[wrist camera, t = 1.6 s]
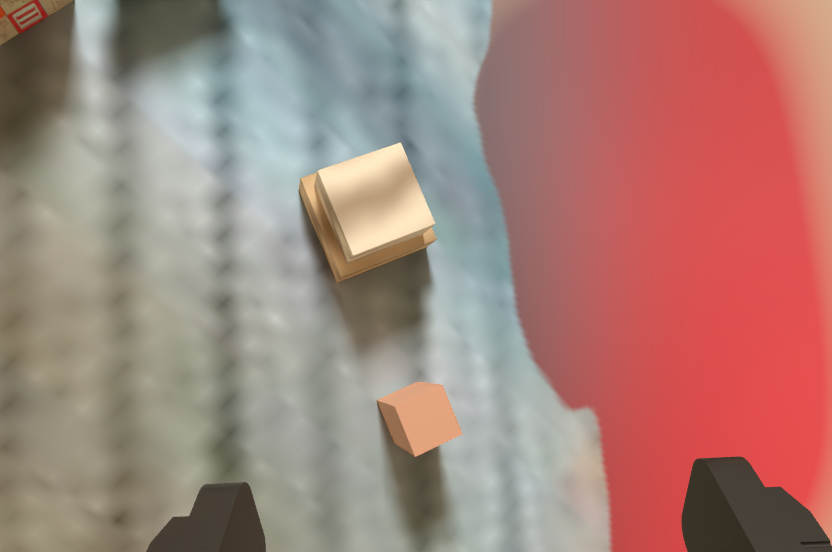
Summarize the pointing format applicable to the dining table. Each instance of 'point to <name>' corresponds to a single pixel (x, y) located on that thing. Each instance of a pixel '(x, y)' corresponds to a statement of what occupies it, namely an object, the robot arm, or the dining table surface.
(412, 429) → the terracotta block
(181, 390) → the dining table surface
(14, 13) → the stack of blocks
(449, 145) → the dining table surface
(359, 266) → the oak base slab
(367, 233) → the birch top slab
